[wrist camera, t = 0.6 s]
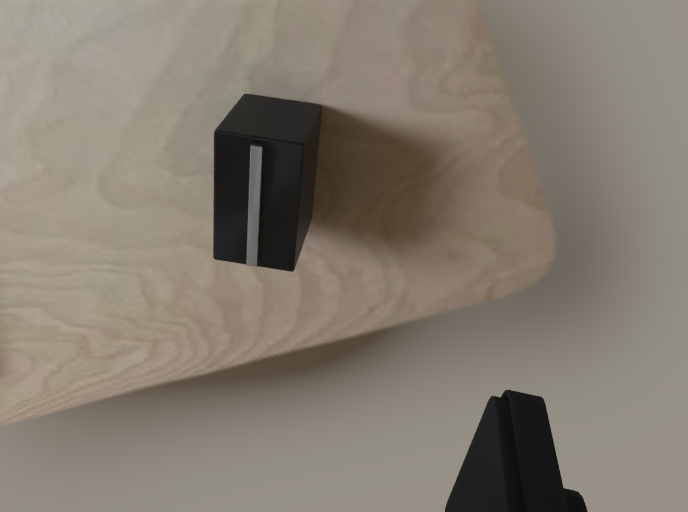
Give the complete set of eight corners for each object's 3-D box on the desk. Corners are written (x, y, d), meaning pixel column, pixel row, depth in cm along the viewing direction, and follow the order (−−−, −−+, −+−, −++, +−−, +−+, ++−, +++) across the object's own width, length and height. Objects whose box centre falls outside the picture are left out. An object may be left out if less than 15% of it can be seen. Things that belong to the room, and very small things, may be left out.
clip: (244, 93, 25) (210, 133, 21) (322, 104, 25) (302, 147, 21) (240, 209, 27) (210, 264, 24) (311, 220, 27) (292, 277, 24)
